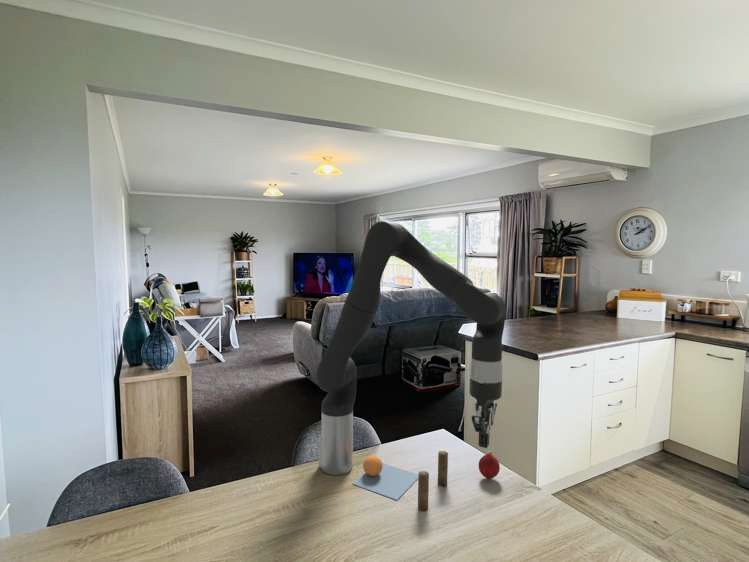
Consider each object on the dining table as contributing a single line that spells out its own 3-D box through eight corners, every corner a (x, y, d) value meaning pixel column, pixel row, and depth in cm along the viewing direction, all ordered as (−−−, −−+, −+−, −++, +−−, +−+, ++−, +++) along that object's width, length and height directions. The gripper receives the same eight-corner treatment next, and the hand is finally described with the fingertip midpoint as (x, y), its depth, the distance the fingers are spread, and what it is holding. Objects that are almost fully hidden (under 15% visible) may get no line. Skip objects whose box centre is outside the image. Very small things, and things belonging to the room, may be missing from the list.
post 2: (436, 485, 116) (436, 453, 115) (439, 480, 118) (440, 450, 117) (445, 488, 114) (445, 456, 114) (448, 483, 117) (449, 452, 116)
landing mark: (352, 484, 116) (352, 483, 116) (378, 462, 128) (378, 461, 128) (397, 500, 109) (397, 499, 109) (420, 475, 120) (420, 475, 120)
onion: (500, 486, 116) (501, 458, 115) (478, 483, 117) (479, 455, 116) (498, 474, 121) (499, 448, 121) (477, 472, 123) (478, 446, 122)
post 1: (416, 509, 105) (416, 474, 104) (420, 503, 107) (421, 469, 107) (425, 512, 104) (426, 477, 103) (429, 507, 106) (430, 472, 105)
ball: (358, 474, 120) (361, 456, 119) (368, 465, 125) (371, 449, 124) (374, 483, 117) (377, 465, 116) (384, 474, 122) (387, 457, 121)
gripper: (479, 367, 109) (477, 432, 110) (461, 381, 98) (459, 453, 99) (508, 372, 105) (506, 439, 106) (493, 387, 94) (491, 461, 95)
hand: (483, 446), depth 103 cm, fingers closed
